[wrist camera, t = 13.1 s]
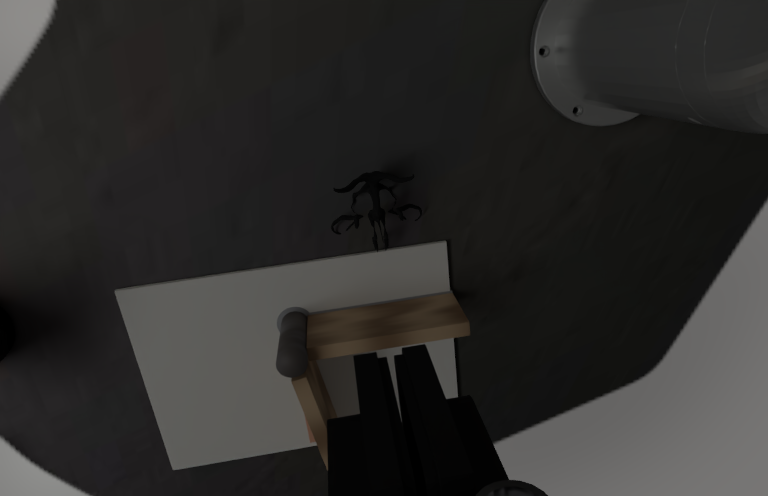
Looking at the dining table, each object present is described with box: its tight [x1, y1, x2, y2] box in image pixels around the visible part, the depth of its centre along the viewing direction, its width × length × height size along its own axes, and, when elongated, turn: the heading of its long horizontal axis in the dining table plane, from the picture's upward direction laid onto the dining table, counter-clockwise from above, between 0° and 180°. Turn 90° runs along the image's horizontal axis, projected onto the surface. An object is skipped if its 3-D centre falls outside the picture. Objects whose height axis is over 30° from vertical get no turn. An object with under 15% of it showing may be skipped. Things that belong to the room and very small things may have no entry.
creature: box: [331, 171, 422, 252], centre depth 42 cm, size 8×5×8 cm
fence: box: [276, 293, 470, 378], centre depth 44 cm, size 15×2×7 cm, turn 97°
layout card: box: [114, 240, 458, 470], centre depth 48 cm, size 28×19×1 cm
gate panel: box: [291, 359, 338, 470], centre depth 46 cm, size 12×1×6 cm, turn 16°
